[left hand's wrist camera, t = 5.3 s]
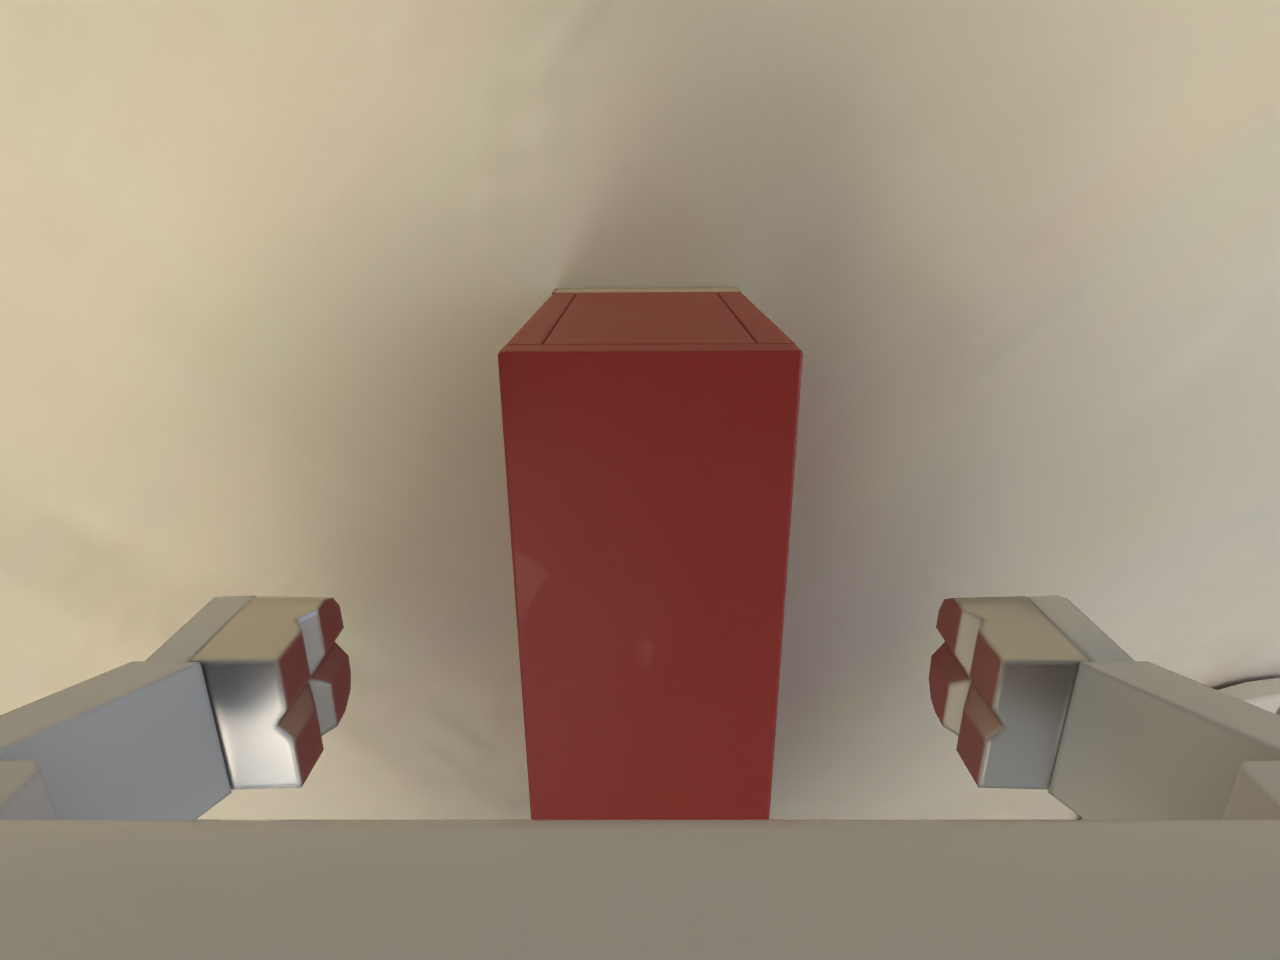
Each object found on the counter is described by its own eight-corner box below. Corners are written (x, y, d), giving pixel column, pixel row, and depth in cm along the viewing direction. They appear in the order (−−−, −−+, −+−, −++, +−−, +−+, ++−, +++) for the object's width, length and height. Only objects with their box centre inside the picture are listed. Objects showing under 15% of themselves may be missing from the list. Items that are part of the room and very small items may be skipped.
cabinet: (717, 793, 30) (752, 1066, 20) (577, 793, 30) (548, 1066, 20) (737, 287, 23) (804, 349, 13) (555, 288, 23) (496, 351, 13)
